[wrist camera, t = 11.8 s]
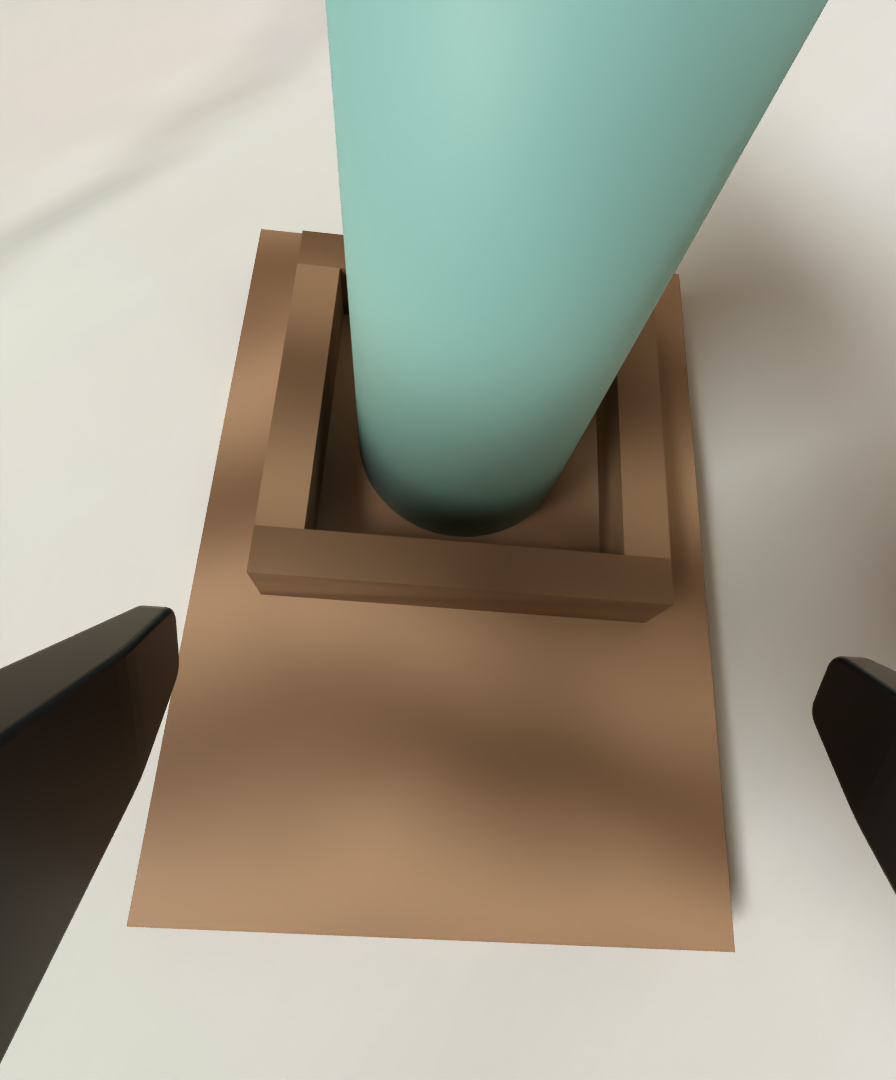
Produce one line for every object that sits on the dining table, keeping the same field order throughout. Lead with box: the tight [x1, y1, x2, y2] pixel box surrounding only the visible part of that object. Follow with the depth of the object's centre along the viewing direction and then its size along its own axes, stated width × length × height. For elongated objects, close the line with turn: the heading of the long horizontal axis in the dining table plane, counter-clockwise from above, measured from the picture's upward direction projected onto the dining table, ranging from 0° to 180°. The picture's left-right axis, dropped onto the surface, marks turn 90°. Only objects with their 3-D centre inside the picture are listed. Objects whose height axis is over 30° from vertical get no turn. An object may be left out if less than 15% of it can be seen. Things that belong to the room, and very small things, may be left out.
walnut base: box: [127, 229, 735, 952], centre depth 19 cm, size 20×14×4 cm
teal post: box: [326, 0, 828, 537], centre depth 13 cm, size 6×6×14 cm
